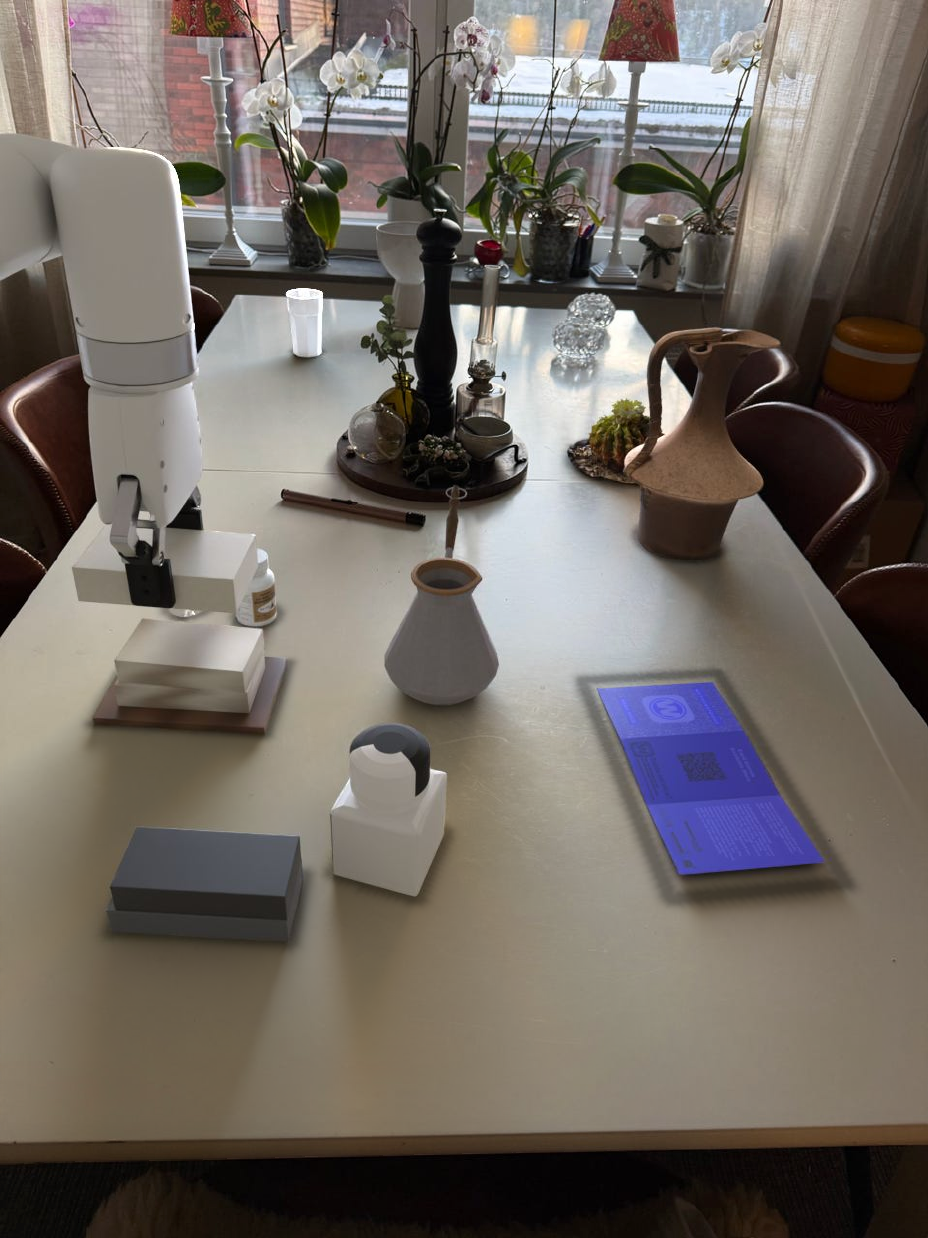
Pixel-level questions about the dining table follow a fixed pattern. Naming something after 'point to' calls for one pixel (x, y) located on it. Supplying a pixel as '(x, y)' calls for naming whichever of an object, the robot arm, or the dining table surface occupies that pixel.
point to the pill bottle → (259, 596)
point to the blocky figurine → (389, 810)
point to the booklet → (704, 780)
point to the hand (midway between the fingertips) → (170, 576)
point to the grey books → (207, 884)
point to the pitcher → (694, 450)
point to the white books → (193, 679)
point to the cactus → (612, 441)
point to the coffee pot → (443, 630)
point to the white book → (175, 569)
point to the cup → (305, 321)
